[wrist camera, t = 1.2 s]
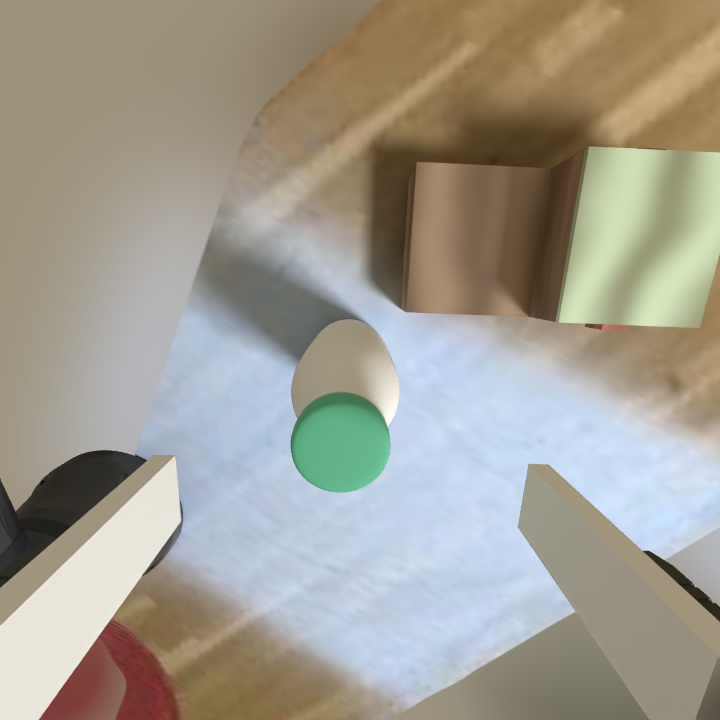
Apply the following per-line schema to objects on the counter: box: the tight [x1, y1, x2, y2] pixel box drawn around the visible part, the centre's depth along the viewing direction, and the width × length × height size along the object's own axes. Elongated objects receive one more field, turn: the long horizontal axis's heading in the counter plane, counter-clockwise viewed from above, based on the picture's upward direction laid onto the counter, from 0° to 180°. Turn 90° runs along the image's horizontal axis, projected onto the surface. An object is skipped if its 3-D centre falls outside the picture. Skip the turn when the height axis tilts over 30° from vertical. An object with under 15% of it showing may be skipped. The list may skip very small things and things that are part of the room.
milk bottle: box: [291, 319, 399, 492], centre depth 24 cm, size 8×8×20 cm
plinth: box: [400, 146, 720, 331], centre depth 28 cm, size 22×13×8 cm, turn 88°
